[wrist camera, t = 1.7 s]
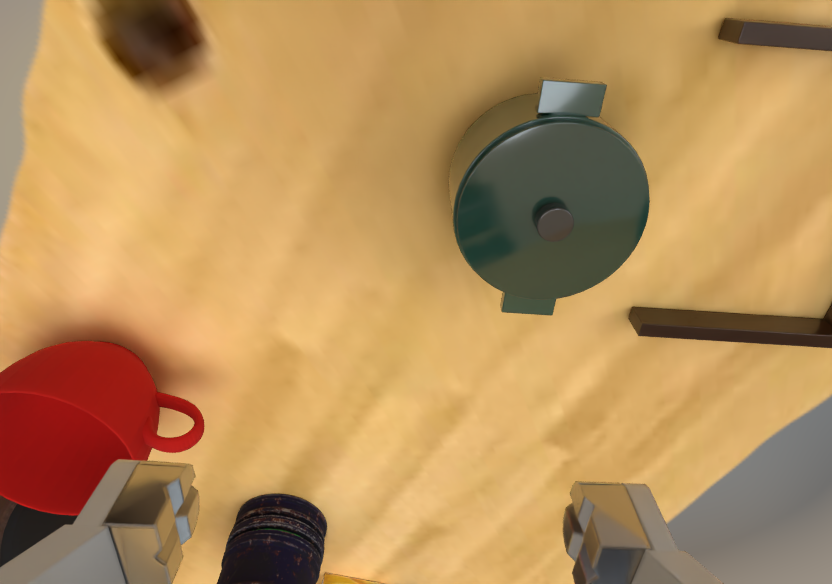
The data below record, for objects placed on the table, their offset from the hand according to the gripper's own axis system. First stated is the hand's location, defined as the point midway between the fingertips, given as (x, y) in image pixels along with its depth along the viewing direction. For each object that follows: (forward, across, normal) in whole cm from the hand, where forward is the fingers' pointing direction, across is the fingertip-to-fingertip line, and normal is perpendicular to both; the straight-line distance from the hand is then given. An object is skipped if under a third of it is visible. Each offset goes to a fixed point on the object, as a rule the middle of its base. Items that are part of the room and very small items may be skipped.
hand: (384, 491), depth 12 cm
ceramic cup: (+31, +23, +22) cm, 44 cm away
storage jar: (+32, +11, +42) cm, 54 cm away
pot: (+30, -9, +2) cm, 32 cm away
